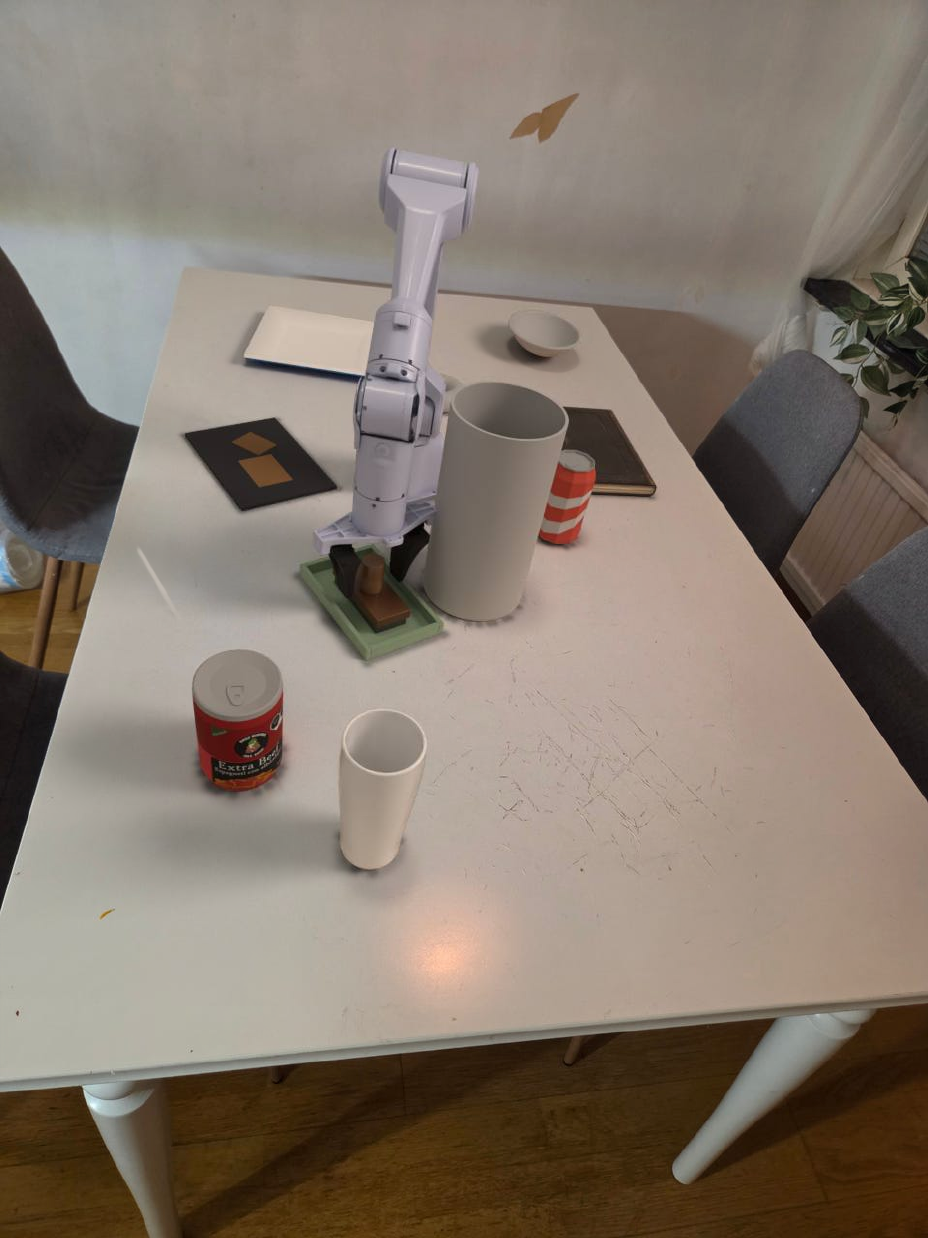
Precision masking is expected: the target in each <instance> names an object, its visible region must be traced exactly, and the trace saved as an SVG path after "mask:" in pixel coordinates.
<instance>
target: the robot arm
mask: <svg viewBox="0 0 928 1238" xmlns="http://www.w3.org/2000/svg"><path fill="white" fill-rule="evenodd" d="M479 173H480V170H479V168H478V166H477V165H476V162H472V161H470V162H465V161H460V160H455V159H450V158H444V157H439V156H434V155H428V154H425V153H419V152H414V151H413V152H412V151H408V150H402V149H398V148H397V147H394V146H390V147H389V148H388V149H387V150H386V151H384V154H383V158H382V163H381V168H380V176H379V186H378V207H379V209H380V210H381V211H382V214H383V216H384V217H383V218H384V219H383V220H384V221H383V222H384V225H386V226H387V227H388V228H390V229H391V230H392V232H394V233H395V235H396V238H395V239H396V240H395V248H394V249H395V250H394V260H393V262H394V263H393V271H392V283H391V293H390V299H389V300H388V301H386V302H385V303H383V304H382V305H381V306H380V307H378V308H377V310H376V312H375V317H374V321H373V322H374V328H373V333H372V339H371V344H370V350H369V355H368V361H367V367H366V372H365V377H360V378H359V379H358V383H357V385H356V389H355V393H354V400H353V407H352V424H353V432H354V434H353V435H354V437H353V438H354V441H353V449H354V450H356V453H355V464H354V478H353V479H354V480H353V491H352V492H353V493H352V505H351V506H352V507H351V511H350V512H347V514H345V515H343V516H342V517H340V518H338V519H336V520H335V521H333V522H331V523H329V524H328V525H326V526H325V527H322V528H320V529H316V530H313V532H312V533H313V535H312V546H313V548H314V549H315V550H316V551H317V552H318V553H319V555H320V556H326V555H327V557H328V556H329V558H330V560H331V562H332V565H333V567H334V570H335V574H336V578H337V582H338V588H339V590H340V591H341V593H342V594H343V595H344V596H345V598H351V597H352V596H353V593H354V584H355V576H356V573H357V570H358V567H359V565H360V564H361V562H362V561H361V559H360V558H359V557H358V556H357V555H356V554H355V552H354V551H355V549H356V548H354V546H353V545H359V544H360V545H361V544H363V545H365V544H384V546H385V547H387V548H390V555H389V562H390V564H389V568H390V573H391V574H392V576H393V577H394V578H395V579H396V580H397V581H398V582H402V581H403V580H404V579H406V576H407V573H408V572H409V569H410V567H412V564H413V562H414V560H415V559H416V557H417V556H419V553H420V552H421V551H422V550H423V549H424V548H425V547H427V546H428V543H429V539H430V532H428V530H426V529H425V525H426V526H428V527H431V525H434V524H435V519H436V513H437V510H436V508H435V507H434V505H433V504H432V503H431V502H430V501H424V502H415V501H419V500H423V499H426V498H432V497H436V492H437V486H438V479H439V473H440V466H441V460H442V454H443V447H444V441H445V438H444V436H443V434H442V432H441V428H442V427H441V426H442V422H443V415H444V412H443V410H444V403H445V389H446V383H444V382H445V379H444V378H443V377H442V376H441V375H440V374H441V373H440V374H439V372H438V371H437V370H436V369H435V368H433V366H432V365H431V364H430V363H429V361H430V360H429V359H430V353H431V345H432V338H433V330H434V324H435V323H434V321H435V314H436V308H437V307H436V306H437V299H438V291H439V285H440V277H441V269H442V262H443V254H444V248H445V246H446V244H447V243H448V242H450V241H453V240H456V239H459V238H461V235H466V234H467V231H469V229H470V227H471V225H472V219H473V214H474V207H475V200H476V195H477V186H478V181H479ZM411 502H415V503H411Z"/></svg>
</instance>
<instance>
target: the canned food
mask: <svg viewBox="0 0 928 1238" xmlns="http://www.w3.org/2000/svg"><path fill="white" fill-rule="evenodd" d="M191 695H192V696H191V697H192V707H193V714H194V723H195V725H194V726H195V732H196V734H195V735H196V743H197V749H198V750H197V751H198V758H199V765H200V768H201V770H202V772H203V773H204V774H205V776H206V778H207V779H208V780H209V781H210V782H211V783H212V784H213V785H215V786H217V788H221V789H223V790H227V791H229V792H230V791H231V792H245V791H251V790H254V789H257V788H259V787H261V786H263V785H264V784H266V783H267V782H268V781H270V780H271V779H272V777H274V775H275V774H276V772H277V771H278V768H279V767H280V764H281V762H282V759H283V742H284V741H283V739H284V738H283V737H284V735H283V734H284V726H283V725H284V682H283V676H282V672H281V669H280V668H279V666H278V665H277V664H276V662H275V661H274V660H273V659H271V658H270V657H269V656H267V655H265V654H263V653H262V652H258V651H255V650H251V649H240V648H239V649H237V648H236V649H228V650H225V651H220V652H218V653H216V654H213V655H211V656H210V657H208V658H207V659H205V660H204V661H203V662H202V663H201V664H200V665H199V666H198V668H197V669H196V671H195V672H194V675H193V677H192V683H191Z"/></svg>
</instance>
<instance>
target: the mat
mask: <svg viewBox="0 0 928 1238" xmlns="http://www.w3.org/2000/svg"><path fill="white" fill-rule="evenodd" d="M184 437H185V438H186V439H187V441H188V442H189V443H190V445H191V446H192V447H193V449H194V450H195V451H196V453H197V455H199V456H200V458H201V460H203V462H204V463H205V465H206V466H207V467H208V468H209V470H210V471H211V472H212V474H213V475H214V477H215V478H216V479H217V480H218V482H219V483H220V484H221V486H222V487H223V489H225V491H226V492H227V494H228V495H229V496H230V497H231V499H232V500H233V502H234V503H235V504H236V505H237V507H238V508H239V510H240V511H241V512H243V511H247V510H252V509H256V508H260V507H265V506H269V505H273V504H277V503H282V502H286V501H291V500H294V499H299V498H303V497H307V496H313V495H316V494H320V493H324V492H329V491H332V490H337V489H338V485H337V484H336V483H335V482H334V481H333V480H332V479H331V477H329V476H328V474H327V472H325V471H324V470H323V468H322V467H320V465H319V464H318V463H317V462H316V461H315V460H314V458H312V457H311V456H310V454H309V453H308V452H307V451H306V450H305V448H304V447H302V446H301V444H300V443H299V442H298V441H297V440H296V439H295V438H294V437H293V436H292V435H291V434H290V432H288V430H287V429H286V428H285V427H284V426H283V424H281V423H280V421H279V420H278V419H277V418H276V417H269V418H264V419H263V418H262V419H257V420H252V421H245V422H241V423H235V424H234V423H233V424H229V425H223V426H222V425H221V426H217V427H211V428H206V429H199V430H195V431H188V432H184Z"/></svg>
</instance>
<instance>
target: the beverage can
mask: <svg viewBox="0 0 928 1238" xmlns="http://www.w3.org/2000/svg"><path fill="white" fill-rule="evenodd" d="M595 479H596V471H595V461H594V460H593V459H592V458H591V457H590V456H589V455H588V454H586V453H583V452H580V451H577V450H563V451H561V453H560V457H559V460H558V464H557V468H556V472H555V475H554V479H553V483H552V486H551V490H550V494H549V497H548V501H547V505H546V509H545V512H544V516H543V520H542V523H541V527H540V531H539V535H538V536H539V537H540V538H541V539H543V540H544V541H547V542H549V543H550V544H554V545H557V544H558V545H565V544H571V543H572V542H574V541H575V540H577V539H578V536H579V534H580V531H581V528H582V524H583V521H584V517H585V515H586V511H587V509H588V506H589V501H590V498H591V495H592V494H591V492H592V489H593V486H594V483H595Z"/></svg>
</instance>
